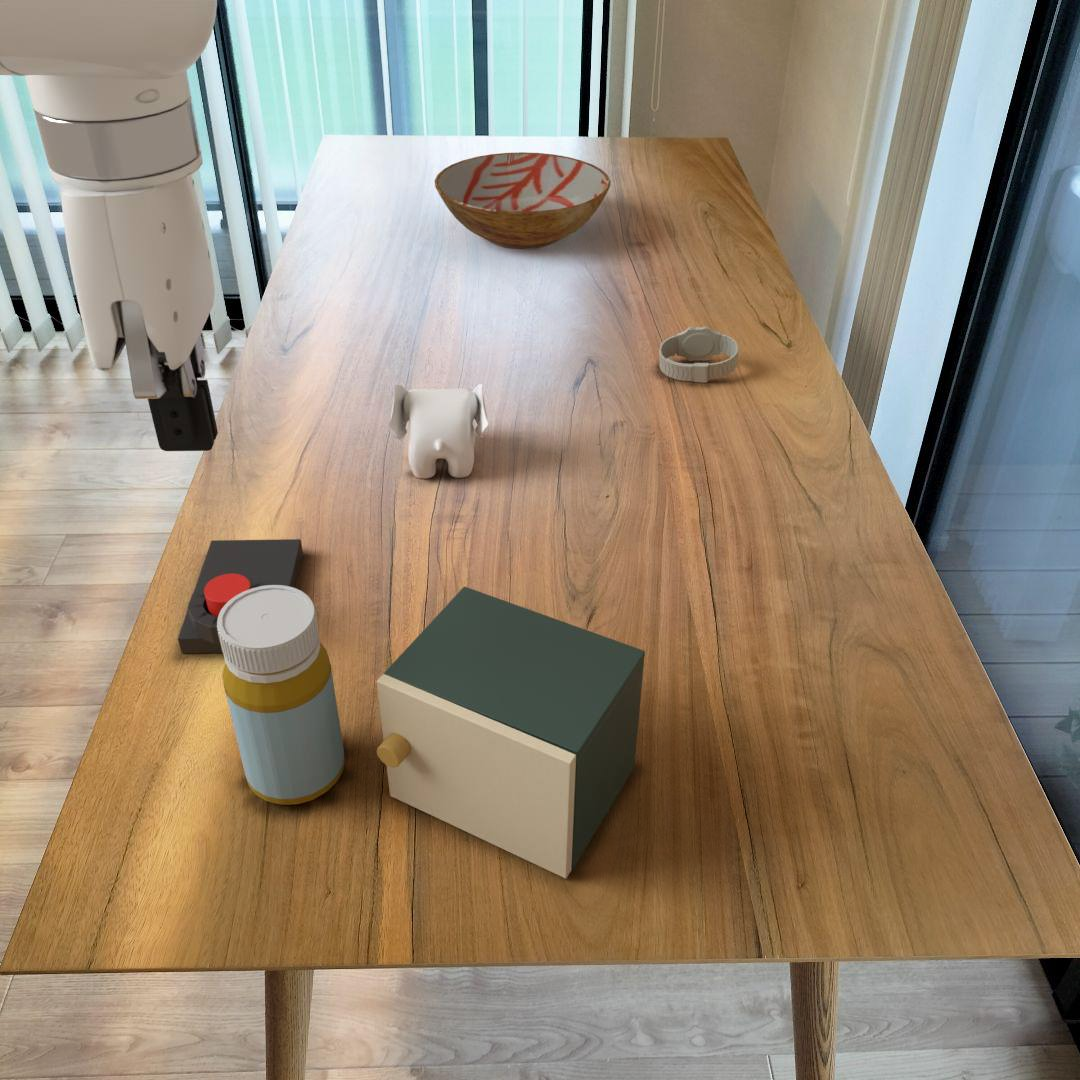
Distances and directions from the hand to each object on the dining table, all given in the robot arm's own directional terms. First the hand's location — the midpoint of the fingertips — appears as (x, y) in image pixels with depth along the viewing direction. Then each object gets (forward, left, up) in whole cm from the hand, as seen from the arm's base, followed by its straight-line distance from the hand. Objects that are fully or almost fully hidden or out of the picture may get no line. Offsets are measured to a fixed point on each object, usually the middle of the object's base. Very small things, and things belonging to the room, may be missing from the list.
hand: (189, 443), depth 66 cm
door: (-1, -20, -25) cm, 32 cm away
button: (+8, +8, -22) cm, 25 cm away
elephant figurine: (+38, +7, -25) cm, 46 cm away
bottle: (-2, -6, -25) cm, 26 cm away
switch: (+11, +10, -25) cm, 29 cm away
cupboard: (+5, -20, -25) cm, 32 cm away
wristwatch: (+68, -9, -25) cm, 73 cm away
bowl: (+95, +29, -25) cm, 103 cm away
